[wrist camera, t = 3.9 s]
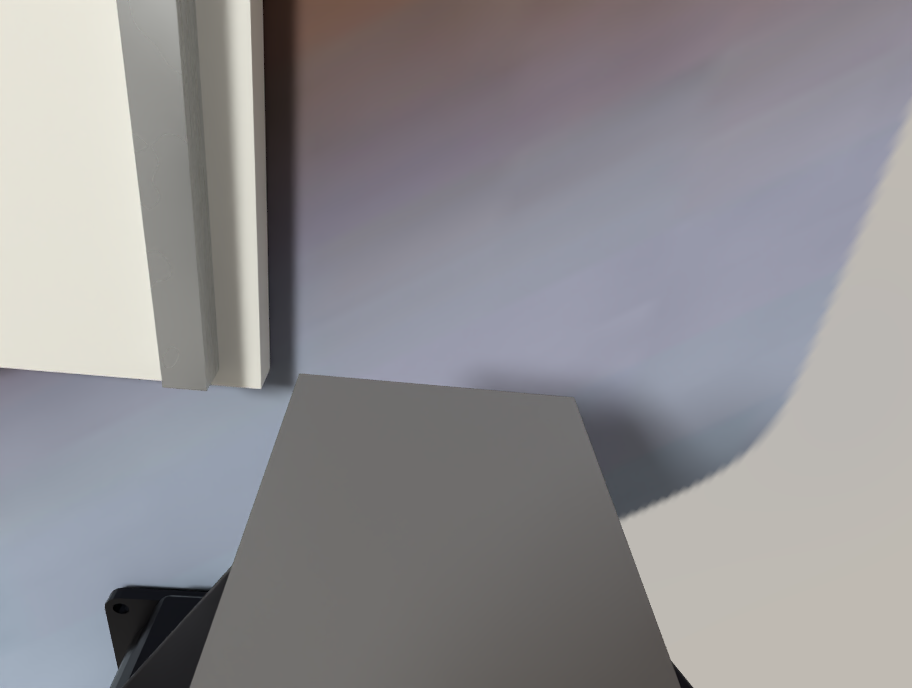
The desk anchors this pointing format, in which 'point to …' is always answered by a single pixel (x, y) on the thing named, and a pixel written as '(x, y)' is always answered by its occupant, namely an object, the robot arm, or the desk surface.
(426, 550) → the block
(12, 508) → the desk surface
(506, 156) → the desk surface
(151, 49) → the rail plate
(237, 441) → the desk surface
